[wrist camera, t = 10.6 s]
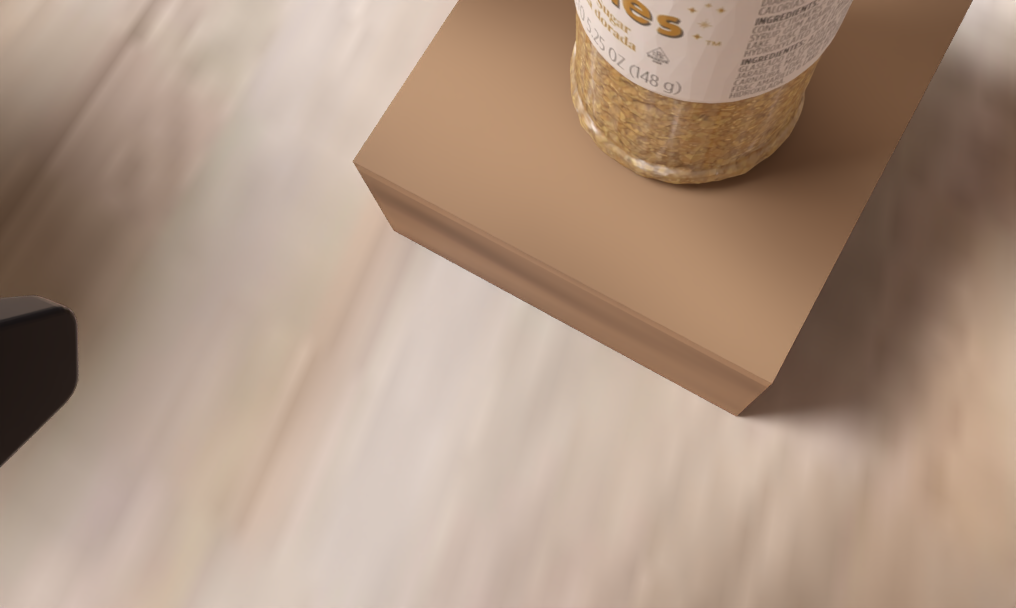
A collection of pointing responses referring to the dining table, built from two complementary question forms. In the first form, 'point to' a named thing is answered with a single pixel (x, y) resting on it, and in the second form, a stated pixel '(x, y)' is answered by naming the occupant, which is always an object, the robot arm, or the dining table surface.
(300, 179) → the dining table surface
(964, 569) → the dining table surface
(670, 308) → the walnut box
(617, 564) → the dining table surface
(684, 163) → the sprinkles bottle
